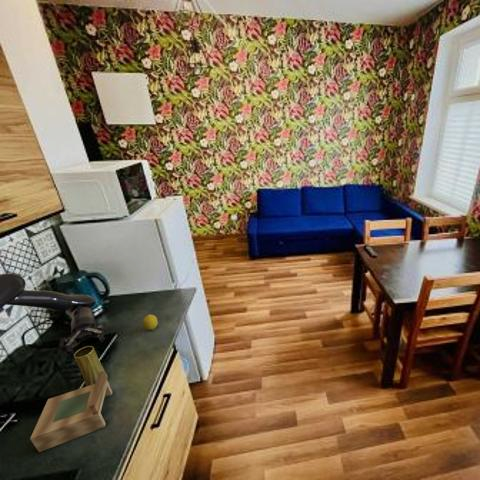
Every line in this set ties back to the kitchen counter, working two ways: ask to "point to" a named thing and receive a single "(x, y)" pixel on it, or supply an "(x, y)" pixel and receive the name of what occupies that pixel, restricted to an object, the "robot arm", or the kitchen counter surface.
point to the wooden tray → (71, 415)
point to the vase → (89, 364)
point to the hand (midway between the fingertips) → (86, 346)
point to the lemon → (150, 322)
